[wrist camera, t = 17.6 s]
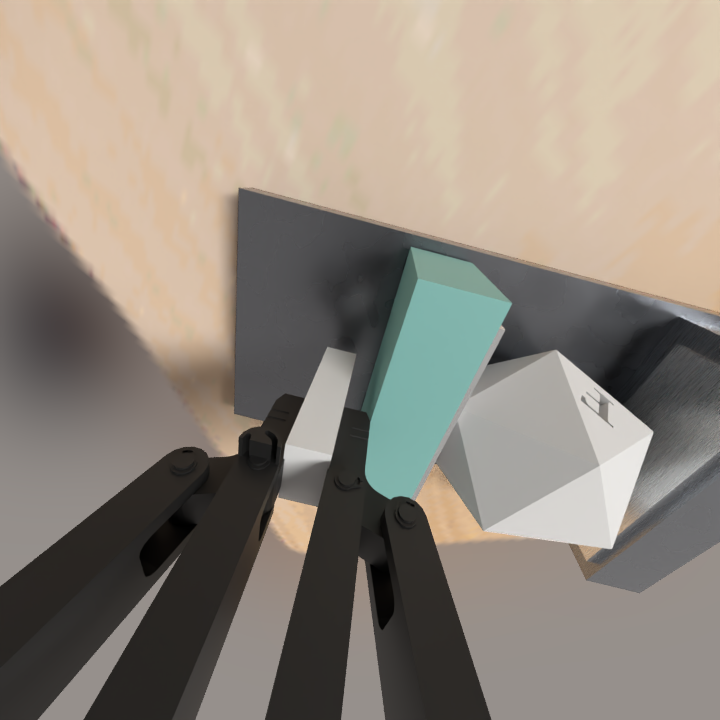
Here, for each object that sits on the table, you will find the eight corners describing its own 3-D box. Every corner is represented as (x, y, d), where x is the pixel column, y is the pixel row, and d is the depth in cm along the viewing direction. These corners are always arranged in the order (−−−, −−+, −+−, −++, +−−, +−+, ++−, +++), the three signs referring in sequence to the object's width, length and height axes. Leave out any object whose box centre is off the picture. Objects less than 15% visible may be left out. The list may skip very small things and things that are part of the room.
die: (580, 427, 19) (786, 455, 10) (492, 530, 19) (620, 668, 9) (481, 341, 20) (581, 290, 11) (394, 437, 20) (418, 475, 10)
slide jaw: (410, 246, 14) (418, 278, 9) (480, 265, 14) (524, 306, 9) (351, 440, 21) (337, 520, 16) (399, 452, 21) (400, 535, 16)
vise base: (252, 187, 15) (145, 188, 9) (737, 317, 16) (971, 407, 9) (243, 400, 22) (181, 487, 16) (578, 484, 23) (650, 601, 16)
